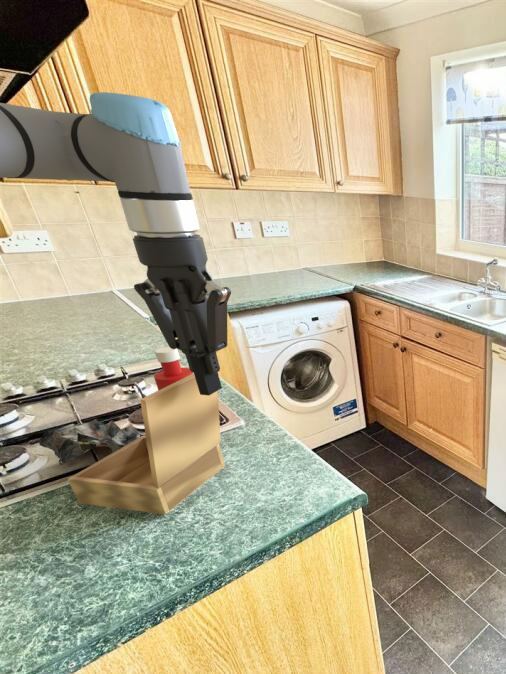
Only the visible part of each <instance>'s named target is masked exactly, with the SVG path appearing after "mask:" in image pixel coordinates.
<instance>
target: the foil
mask: <svg viewBox="0 0 506 674" xmlns="http://www.w3.org/2000/svg"><path fill="white" fill-rule="evenodd" d="M99 420H103V419H101V418H100V419H99ZM143 435H144V436H146V434H145V433H144V434H143V433H141V432H140V431H139V430H137V428H135V427H133V426H132V425H129V426H127V427H124V428H122V429H121V427H119V426H118V424H117V423H115V422H114V421H113V420H109V422H108V423H104V422H101V421H98V419H92V420H91V421H88V422H83V423H76V424H74V423H70V424H68V425H64V426H60V427H56V428H53V429H47V430H45V431H44V433H43V434H42V435H41V437H40V439H39V440H38V441H39V442H38V444H39V446H41V447H42V448H47V449H48V450H52V451H53V453H54V455H55V456H56V457H57V458H58V459H59V460H58V462H57V463H58V464H57V465H58V466H59V465H60V466H61V465H65V464H67V463H68V462H70V461H72V460H74V459H76V458H78V457H79V456H82V455H83V454H85V452H87V451H90V450H92V449H94V448H96V447H97V446H105V447H108V448H109V449H108V451H109V453H110V454H112V453H114V452H115V451H117V450H119V449H121V448H122V447H124V446H126V445H127V444H129V443H131V442H133V441H134V440H136V439H138V438H140V437H141V436H143Z"/></svg>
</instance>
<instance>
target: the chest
mask: <svg viewBox="0 0 506 674" xmlns="http://www.w3.org/2000/svg"><path fill="white" fill-rule="evenodd" d="M142 435H143V436H141V437H140V438H138V439H136V440H134V441H133V442H131V443H129V444H127V445H126V446H124V447H122V448H121V449H119V450H117V451H115V452H114V453H110V454H109V455H107V456H104V457H103V458H101V459H100V460H98V461H96V462H94V463H93V464H91V465H89V466H88V467H86V468H84V469H82V470H81V471H79V472H77V473H75V474H74V475H72V476H70V477H68V478H67V481H68V483H69V485H70V487H71V490H72V491H73V494H74V495H75V498H76V499H77V501H78V503H79V504H81V505H88V506H89V505H90V506H97V507H105V508H112V509H120V510H128V511H135V512H136V511H137V512H142V513H143V512H145V513H152V514H159V515H167V514H168V513H169V512H171V511H172V510H173V509H175V508H176V507H177V506H178V505H179V504H180V503H182V502H183V501H185V499H187V498H188V497H189V496H190V495H192V494H193V493H194V492H195V491H197V490H198V489H199V488H200V487H202V486H203V485H204V484H205V483H206V482H208V481H209V480H210V479H211V478H213V477H214V476H216V474H218V473H219V472H221V470H223V469H224V468H225V467H226V462H225V459H224V455H223V452H222V449H221V445H220V443H219V444H218V445H217V446H215V447H214V448H212V449H211V450H210V451H208V452H207V453H206V454H204V455H203V456H201V457H200V458H199V459H197V460H196V461H195V462H193V463H192V464H191V465H189V466H188V467H186V468H185V469H184V470H182V471H181V472H180V473H178V474H177V475H175V476H174V477H173V478H171V479H170V480H169V481H167V482H166V483H165V484H163V485H162V486H160V487H159V488H156V487H153V480H152V473H151V467H150V460H149V454H148V447H147V441H146V436H144V434H142Z"/></svg>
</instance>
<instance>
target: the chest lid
mask: <svg viewBox="0 0 506 674" xmlns="http://www.w3.org/2000/svg"><path fill="white" fill-rule="evenodd" d="M140 407H141V415H142V420H143V427H144V434H145V435H146V441H147V447H148V454H149V460H150V467H151V473H152V480H153V487H156V488H159V487H160V486H162V485H163V484H165V483H166V482H167V481H169V480H170V479H171V478H173V477H174V476H175V475H177V474H178V473H180V472H181V471H182V470H184V469H185V468H186V467H188V466H189V465H191V464H192V463H193V462H195V461H196V460H197V459H199V458H200V457H201V456H203V455H204V454H206V453H207V452H208V451H210V450H211V449H212V448H214V447H215V446H217V445H218V444H219V445H220V444H221V443H222V442H221V441H222V439H221V424H220V423H221V422H220V421H221V420H220V408H219V407H220V406H219V390H218V391H216V392H214V393H213V394H211V395H200V392H199V389H198V385H197V382H196V378H195V375H194V373H193V374H191V375H189V376H187V377H185V378H183V379H181V380H179V381H177V382H175V383H173V384H171V385H169V386H167V387H165V388H163V389H161V390H159V391H158V390H157V391H154V392H153V393H151V394H149V395H147V396H145V397H142V398H140Z"/></svg>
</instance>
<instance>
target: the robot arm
mask: <svg viewBox="0 0 506 674" xmlns="http://www.w3.org/2000/svg"><path fill="white" fill-rule="evenodd" d="M89 103H90V108H91V109H90V113H78V112H63V111H56V110H55V111H53V110H47V109H42V108H35V107H29V106H25V105H17V104H11V103H3V102H0V179H1V178H3V179H20V180H21V179H24V180H51V181H52V180H54V181H69V182H70V181H71V182H72V181H83V182H106V183H108V182H110V183H114V184H115V186H116V190H117V194H118V197H119V199H120V200H119V201H120V203H121V207H122V209H123V213H124V217H125V220H126V223H127V227H128V230H129V231H131V232H132V233H136V235H134V236H133V238H132V242H133V245H134V248H135V252H136V255H137V258H138V262H139V263H140V265H141V264H142V265H143V266H146V269H147V270H146V278H147V279H145V280H144V281H143V282H139V283H135V284H134V285H133V290H134V291H135V292H136V293H137V294H138V295H139V296H140V297H141V299H142V300H143V301H144V302H145V304H146V306H147V308H148V310H149V312H150V313H151V315H152V318H153V320H154V321H155V323H156V324H157V326H158V329H159V330H160V332H161V334H162V336H163V338H164V340H165V342H166V343H167V345H168V347H170V348H171V349H176V348H177V350H178V351H181V353H182V354H183V355H185V358H186V361H187V365H188V368H189V369H190V371H191V372H192V373H193V374H194V375H195V378H196V382H197V385H198V389H199V392H200V395H211V394H213V393H214V392H216V391H218V392H219V391H220V390H221V389H223V386H222V383H221V380H220V375H219V372H220V371H221V367H220V363H219V358H218V355H217V352H219V351H221V350H222V349H225V348H227V347H228V302H229V300H230V297H231V294H232V290H231V288H230V287H228V286H223V287H221V285H219V284H217V283H215V282H214V281H213V277H212V275H211V274H210V272H209V271H208V269H207V262H208V260H209V259H208V255H207V249H206V246H205V241H204V238H203V237H201V235H200V234H197V232H199V231H200V230H201V226H200V223H199V219H198V218H199V217H198V214H197V210H196V206H195V202H194V197H193V194H192V192H191V187H190V182H189V178H188V175H187V170H186V165H185V160H184V155H183V150H182V141H181V140H180V138H179V135H178V132H177V129H176V125H175V122H174V119H173V116H172V112H171V110H170V109H169V108H168V107H167V106H166V105H165V104H164V103H162V102H161V101H158V100H155V99H152V98H149V97H144V96H138V95H133V94H126V93H118V92H106V91H104V92H103V91H100V92H92V94H91V93H90V95H89Z"/></svg>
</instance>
